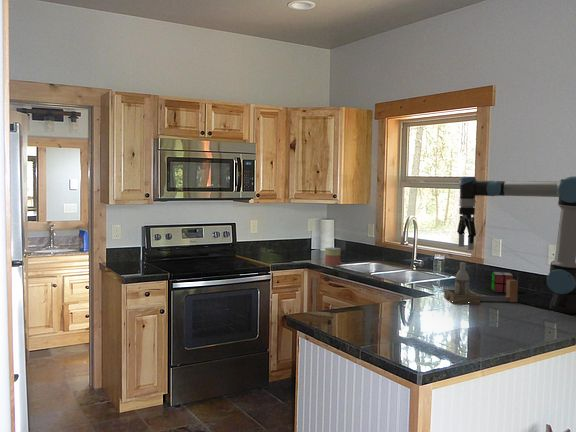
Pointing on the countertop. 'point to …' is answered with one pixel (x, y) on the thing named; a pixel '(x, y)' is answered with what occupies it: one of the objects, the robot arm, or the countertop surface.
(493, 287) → the puzzle cube
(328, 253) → the canned food
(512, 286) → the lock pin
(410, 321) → the countertop surface
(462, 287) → the bath foam
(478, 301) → the brown shallow tray
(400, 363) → the countertop surface
